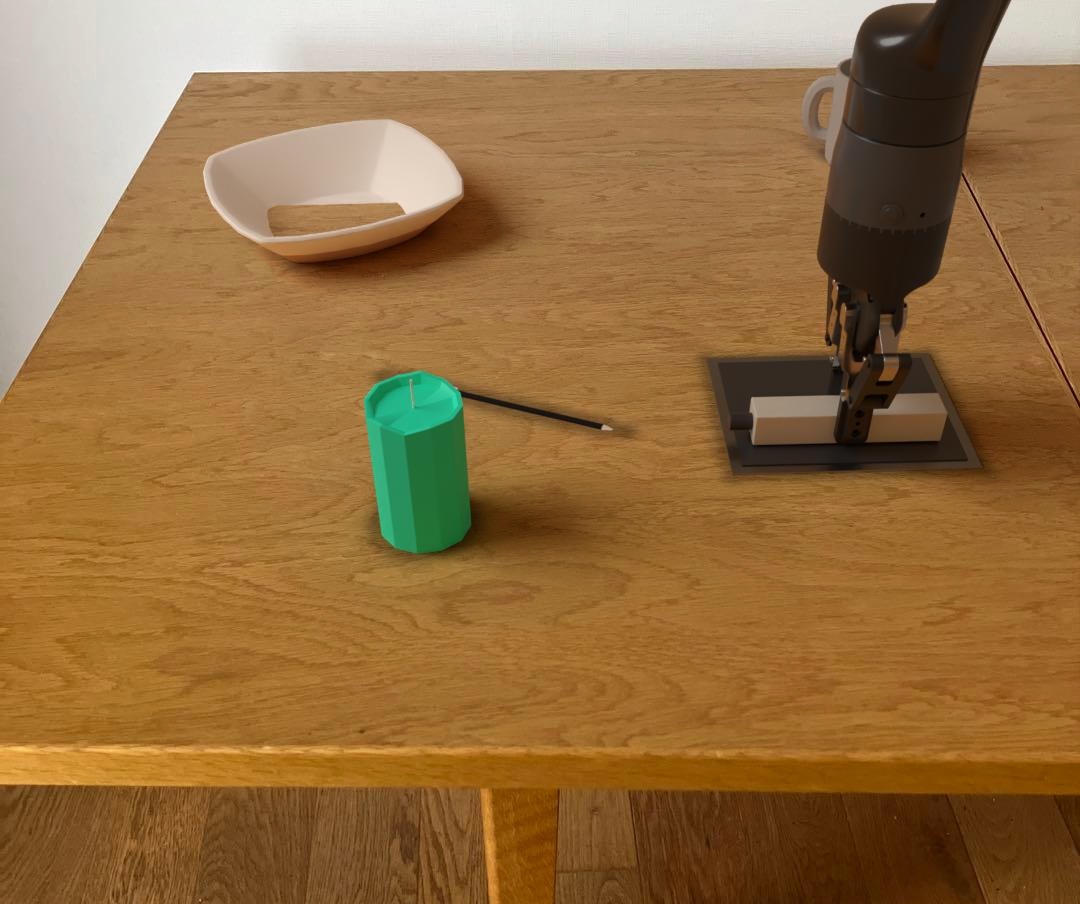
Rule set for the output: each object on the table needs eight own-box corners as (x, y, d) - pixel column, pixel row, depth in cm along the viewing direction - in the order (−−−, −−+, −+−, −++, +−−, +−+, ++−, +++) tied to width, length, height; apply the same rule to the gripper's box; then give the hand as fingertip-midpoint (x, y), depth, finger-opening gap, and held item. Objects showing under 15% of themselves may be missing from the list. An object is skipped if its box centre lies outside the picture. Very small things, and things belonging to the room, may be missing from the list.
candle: (390, 500, 81) (371, 349, 73) (478, 504, 80) (468, 353, 72) (372, 560, 76) (349, 407, 68) (465, 566, 76) (453, 412, 68)
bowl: (408, 159, 120) (403, 107, 116) (495, 254, 105) (492, 198, 102) (194, 205, 113) (182, 151, 110) (255, 313, 99) (244, 256, 95)
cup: (893, 181, 115) (911, 88, 109) (789, 167, 117) (801, 76, 111) (902, 150, 120) (919, 60, 114) (802, 137, 122) (814, 49, 116)
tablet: (926, 363, 92) (929, 351, 91) (979, 478, 82) (983, 466, 81) (705, 369, 92) (706, 356, 91) (730, 485, 81) (732, 472, 81)
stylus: (931, 420, 84) (938, 392, 83) (940, 441, 83) (948, 413, 81) (724, 425, 84) (728, 397, 83) (729, 446, 83) (732, 417, 81)
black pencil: (390, 381, 91) (388, 369, 90) (627, 437, 85) (628, 424, 85) (384, 387, 90) (383, 375, 90) (623, 444, 85) (623, 431, 84)
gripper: (987, 251, 66) (924, 490, 78) (923, 144, 77) (876, 370, 88) (852, 254, 66) (809, 493, 78) (806, 147, 77) (774, 372, 88)
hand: (844, 426), depth 83 cm, fingers closed on stylus, 2 cm apart
